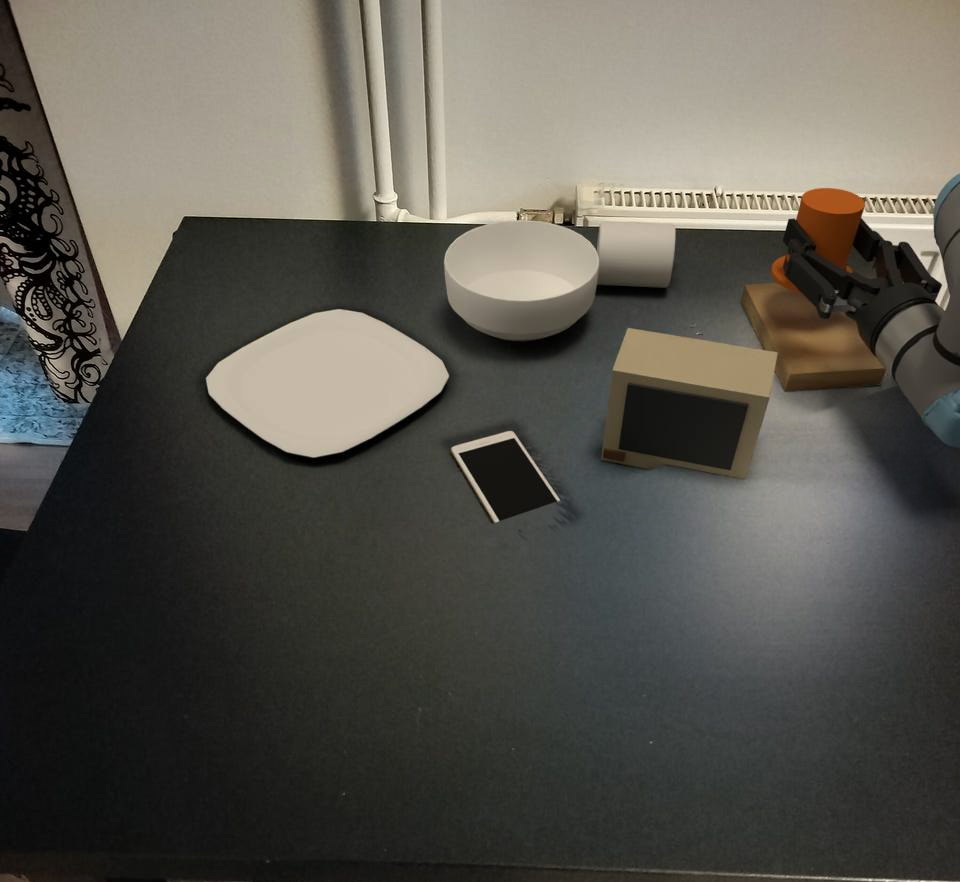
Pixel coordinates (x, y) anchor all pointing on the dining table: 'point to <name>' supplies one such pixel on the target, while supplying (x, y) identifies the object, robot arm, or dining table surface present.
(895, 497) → the dining table surface
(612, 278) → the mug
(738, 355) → the television
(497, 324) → the bowl
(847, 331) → the brown wooden board
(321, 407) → the plate
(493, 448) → the cell phone
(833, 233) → the hat
